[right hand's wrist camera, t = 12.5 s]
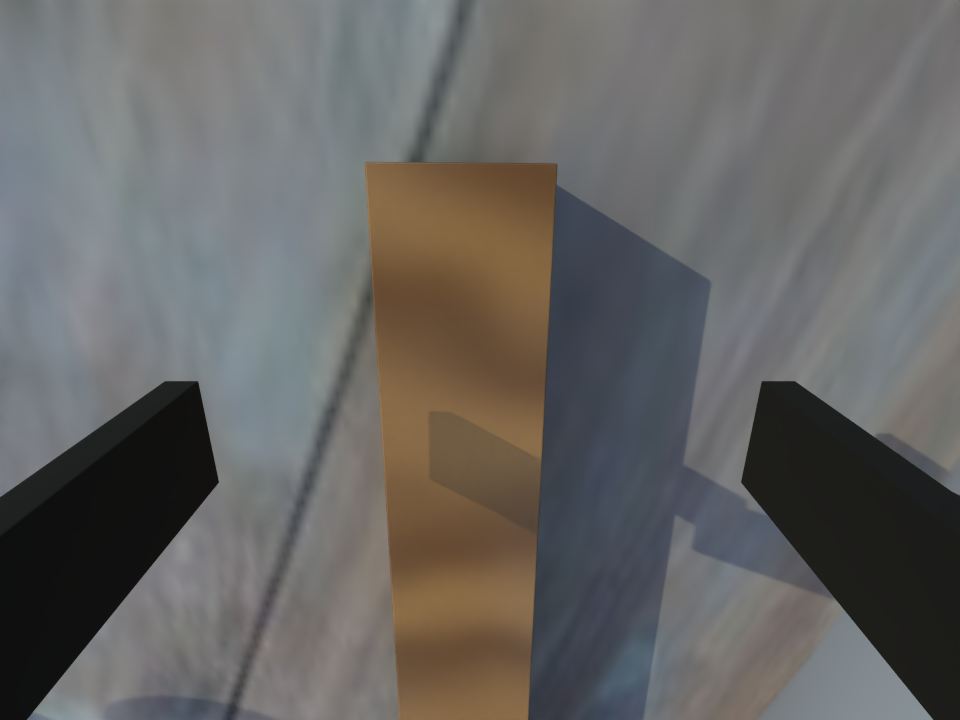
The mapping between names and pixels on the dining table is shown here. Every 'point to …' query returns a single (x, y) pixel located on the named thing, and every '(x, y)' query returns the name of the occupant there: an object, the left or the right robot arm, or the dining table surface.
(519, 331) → the bar
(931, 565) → the right robot arm
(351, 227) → the dining table surface
